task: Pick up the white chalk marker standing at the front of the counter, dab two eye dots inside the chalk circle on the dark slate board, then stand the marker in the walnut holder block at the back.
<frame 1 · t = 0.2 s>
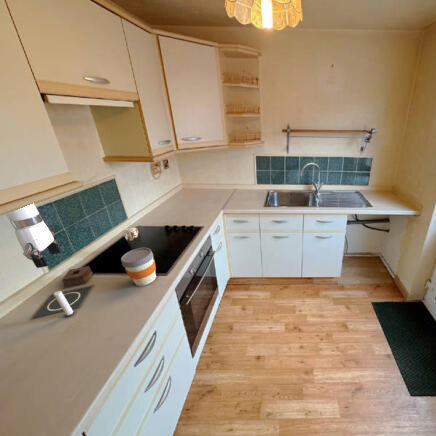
hand: (49, 259, 91), 22 cm above the counter, tool pointing down, fingers open, 9 cm apart
marker: (70, 315, 93), on the counter
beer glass: (138, 252, 135), on the counter
holder: (80, 280, 113), on the counter
slate board: (64, 301, 100), on the counter
reusable coffee cup: (146, 280, 112), on the counter
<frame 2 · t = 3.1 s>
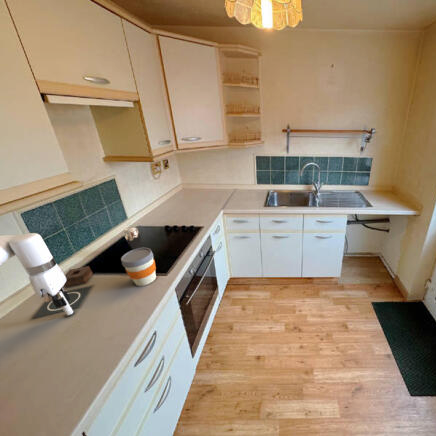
hand: (63, 303, 90), 7 cm above the counter, tool pointing down, fingers closed on marker, 2 cm apart
marker: (70, 315, 93), on the counter, touching gripper
everything else where it was.
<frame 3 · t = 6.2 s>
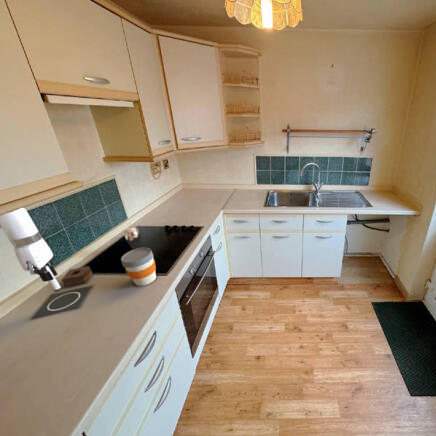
hand: (50, 277, 93), 14 cm above the counter, tool pointing down, fingers closed on marker
marker: (58, 290, 95), point 8 cm above the counter, touching gripper
everything else where it was.
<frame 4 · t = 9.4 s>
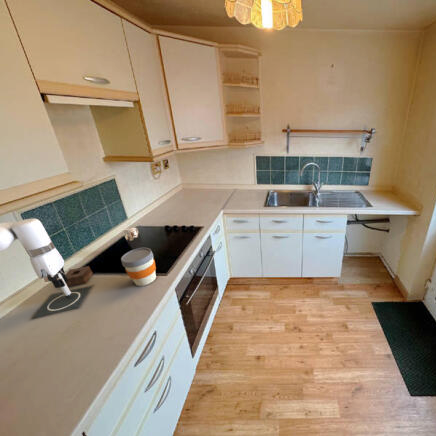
hand: (62, 284, 98), 8 cm above the counter, tool pointing down, fingers closed on marker, 2 cm apart
marker: (68, 295, 101), point 1 cm above the counter, touching gripper
everything else where it was.
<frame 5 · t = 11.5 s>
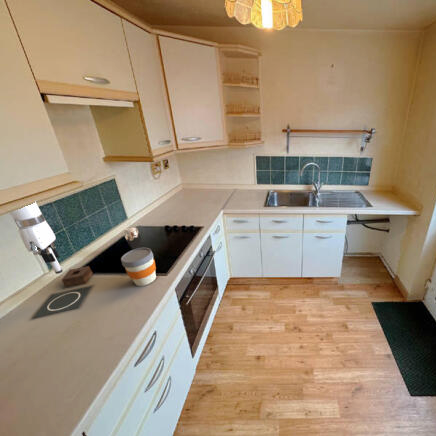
hand: (52, 259, 96), 19 cm above the counter, tool pointing down, fingers closed on marker
marker: (59, 272, 99), point 13 cm above the counter, touching gripper
everything else where it was.
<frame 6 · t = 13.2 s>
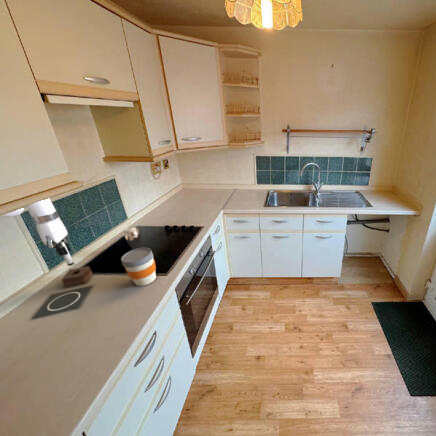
hand: (65, 252, 106), 16 cm above the counter, tool pointing down, fingers closed on marker
marker: (71, 264, 108), point 10 cm above the counter, touching gripper
everything else where it was.
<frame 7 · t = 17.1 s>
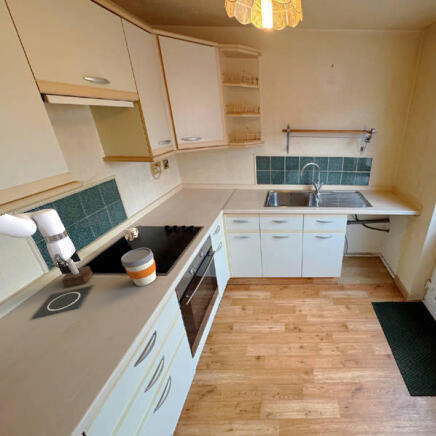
hand: (72, 267, 109), 8 cm above the counter, tool pointing down, fingers open, 9 cm apart
marker: (79, 280, 113), resting in holder
everything else where it was.
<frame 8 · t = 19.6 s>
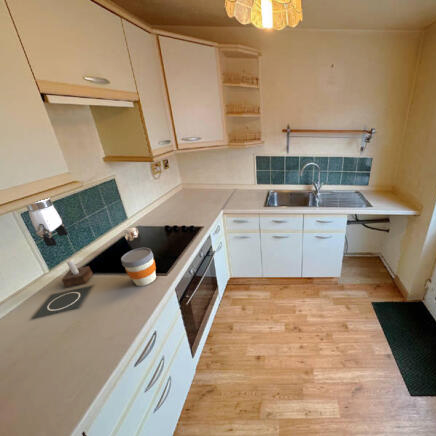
hand: (58, 240, 103), 23 cm above the counter, tool pointing down, fingers open, 9 cm apart
nothing on the counter moved.
at the end: marker 0.1 cm off-centre in the holder, point 0.0 cm above the holder's base; marker tilted 0° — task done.
